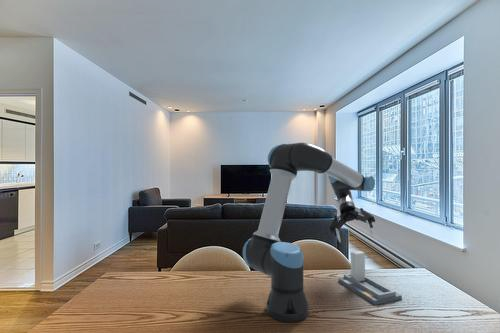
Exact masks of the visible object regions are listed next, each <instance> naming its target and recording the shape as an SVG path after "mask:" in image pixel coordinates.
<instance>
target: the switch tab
mask: <svg viewBox="0 0 500 333" xmlns="http://www.w3.org/2000/svg"><path fill="white" fill-rule="evenodd" d="M365 256H366V252H363V251H362V250H357V251H356V250H355V251H351V252H350V273H351V277H352V278H354V279H355V280H357V281H364V280H365V276H366V257H365Z"/></svg>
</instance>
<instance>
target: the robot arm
mask: <svg viewBox="0 0 500 333" xmlns="http://www.w3.org/2000/svg"><path fill="white" fill-rule="evenodd" d="M267 162H268V166H269V168H270V169H269V172H270V174H271V178H270V181H269V187H268V190H267V193H266V197H265V202H264V205H263V209H262V212H261V216H260V221H259V224H258V228H257V230H256V231H255V232H253V233H252V237H250V238H249V239H248V240H247V241H246V242H245V243H244V245H243V247H242V257H243V261H244V263H245V264H246V265H247V266H248V267H249V268H251V269H253V270H254V271H257V272H259V273H262V274H264V275H266V276H268V277H270V283H271V285H270V292H269V293H268V299H267V301H266V313H267V314H268V316H269V317H270V318H272V319H274V320H277V321H280V322H285V323H296V322H299V321H303V320H305V319H306V318H308V316H309V313H310V312H309V308H310V306H309V302H308V301H307V297H306V294H305V291H304V265H305V264H304V263H305V262H304V254H303V253H304V252H303V250H302V248H300V247H299V245H297V244H294V243H292V242H285V241H281V239H280V238H279V233H280V229H281V226H282V222H283V218H284V213H285V208H286V204H287V200H288V196H289V194H290V189H291V184H292V180H295V179H296V178H297V175H298V172H306V171H307V172H314V173H317V174H319V175H320V174H325V175H326V176H327V177H328V180H329V183H330V185H331V187H332V189H333V191H334V194H335V197H336V199H337V203H338V208H339V213H340V215H336V214H334V215H333V220H332V222H331V224H330V225H329V228H328V229H329V231H330V234H334V237H335V238H337V241H338V243H341V242H342V241H341V236H340V235H341V234H340V229H342V227H343V226H344V225H345V224H346V223H347V222H349V223H350V222H351V221H354V220H356V221H360V222H363V223H366V225H367V228H368V230H369V233H370V236H373V231H372V229H373V228H374V226H373V223H375V222H376V219H375V217H374V216H373V215H372V214H371V213H369V212H367V211H366V210H364V208H362V207H360V209H359V210H357V208H356V206H355V202H354V201H355V200H354V199H353V195H352V194H353V193H352V192H351V191H359V192H372V191H374V189H375V187H376V180H375V177H374V176H373V175H369V174H366V175H365V174H362V173H360V172H359V171H357V170H354V169H353V168H352V167H350V166H348V165H346V164H345V163H343V162H341V161H339V160H338V159H336V158H334V157H333V156H332V154H331V153H330V152H329V151H327V150H326V149H323V148H322V147H319V146H317V145H315V144H311V143H307V142H296V143H295V142H294V143H281V144H278V145H275V146H273V147H272V148H271V149H270V150H269V153H268V156H267Z"/></svg>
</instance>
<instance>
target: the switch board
mask: <svg viewBox="0 0 500 333" xmlns="http://www.w3.org/2000/svg"><path fill="white" fill-rule="evenodd" d="M338 282H339V283H340V284H342V285H343V286H345V287H347V289H349V290H350V291H353V292H354V293H356V294H357V295H358V296H360V297H362V298H363V299H365V300H366V301H368V302H370V303H371V304H372V305H375V306H376V305H380V304H386V303H390V302H394V301H401V300H403V296H402V294H400V293H399V292H396V291H395V290H393V289H391V288H389V287H387V286H385V285H383V283H382V284H381V283H380V282H378V281H376V280H374V279H372V278H370V277H369V276H366V275H365V280H364V281H357V280H355V279H354V278H352V277H351V272H350V273H345V274H343V277H338Z"/></svg>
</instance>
